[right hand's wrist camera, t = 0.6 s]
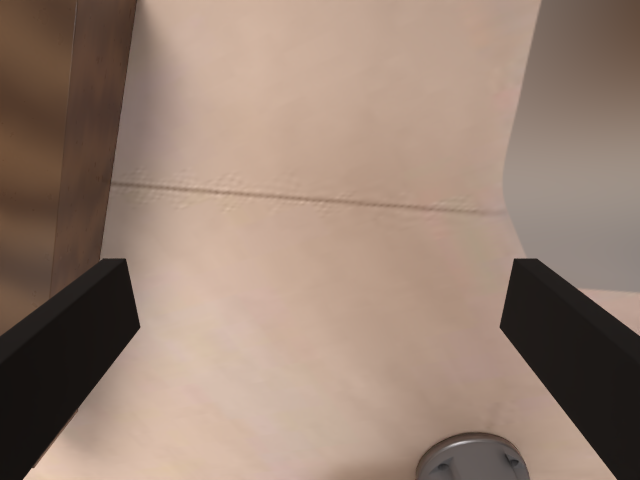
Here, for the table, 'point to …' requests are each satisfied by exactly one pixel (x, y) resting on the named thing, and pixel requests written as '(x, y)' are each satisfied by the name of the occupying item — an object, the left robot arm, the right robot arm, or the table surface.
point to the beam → (56, 142)
